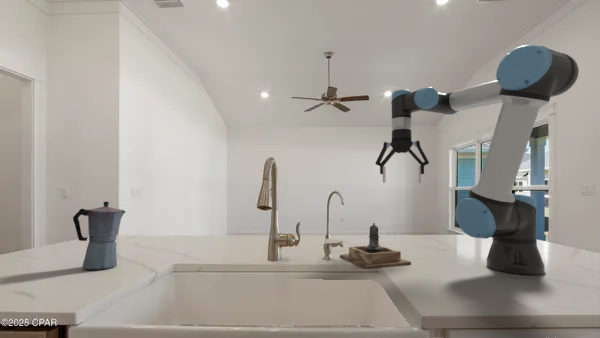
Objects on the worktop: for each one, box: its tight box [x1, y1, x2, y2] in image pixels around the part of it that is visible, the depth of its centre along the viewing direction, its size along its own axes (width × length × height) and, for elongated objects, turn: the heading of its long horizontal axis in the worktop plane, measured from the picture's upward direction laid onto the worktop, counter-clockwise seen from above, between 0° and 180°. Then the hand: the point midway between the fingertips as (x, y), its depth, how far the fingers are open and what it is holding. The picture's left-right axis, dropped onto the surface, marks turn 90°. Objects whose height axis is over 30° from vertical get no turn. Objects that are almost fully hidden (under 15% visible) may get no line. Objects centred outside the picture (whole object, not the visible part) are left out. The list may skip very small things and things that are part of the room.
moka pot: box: [72, 201, 126, 270], centre depth 99 cm, size 10×15×20 cm, turn 155°
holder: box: [339, 244, 412, 270], centre depth 111 cm, size 17×17×4 cm
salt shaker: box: [365, 222, 383, 253], centre depth 111 cm, size 6×6×12 cm
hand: (401, 182), depth 129 cm, fingers open, 13 cm apart
